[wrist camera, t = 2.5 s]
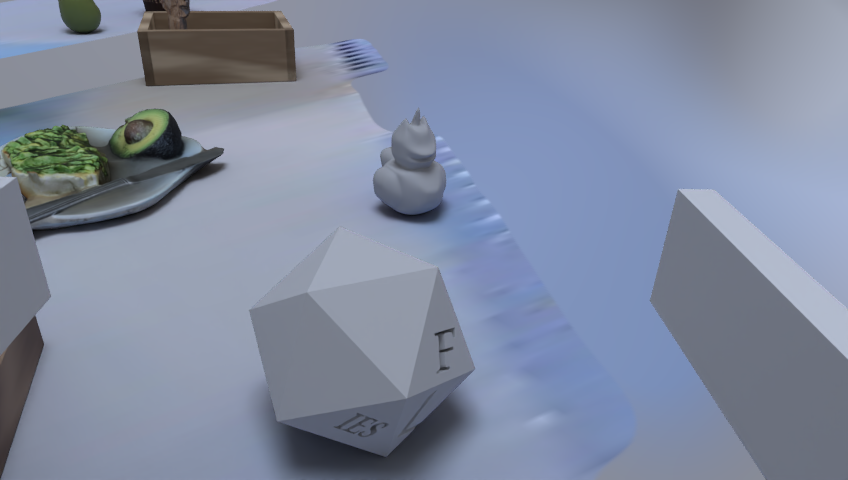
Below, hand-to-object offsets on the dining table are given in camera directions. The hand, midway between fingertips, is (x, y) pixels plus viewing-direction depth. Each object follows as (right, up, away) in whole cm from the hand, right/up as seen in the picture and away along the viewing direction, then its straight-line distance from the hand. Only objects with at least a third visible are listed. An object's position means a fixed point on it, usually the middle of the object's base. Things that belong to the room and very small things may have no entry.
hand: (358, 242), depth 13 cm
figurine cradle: (-24, +22, +67) cm, 74 cm away
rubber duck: (0, +2, +35) cm, 35 cm away
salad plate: (-25, +4, +37) cm, 45 cm away
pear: (-50, +31, +82) cm, 101 cm away
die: (-1, -8, +16) cm, 18 cm away
